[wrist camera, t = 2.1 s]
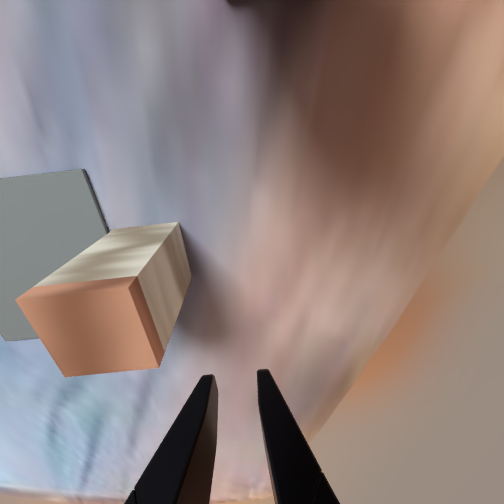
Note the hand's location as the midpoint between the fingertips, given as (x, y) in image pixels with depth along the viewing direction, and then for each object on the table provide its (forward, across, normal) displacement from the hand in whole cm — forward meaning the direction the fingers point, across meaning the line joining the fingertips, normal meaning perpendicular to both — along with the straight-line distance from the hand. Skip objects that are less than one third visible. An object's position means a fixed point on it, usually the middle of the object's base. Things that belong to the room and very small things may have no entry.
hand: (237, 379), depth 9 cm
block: (+12, +7, 0) cm, 14 cm away
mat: (+12, +16, 0) cm, 20 cm away
